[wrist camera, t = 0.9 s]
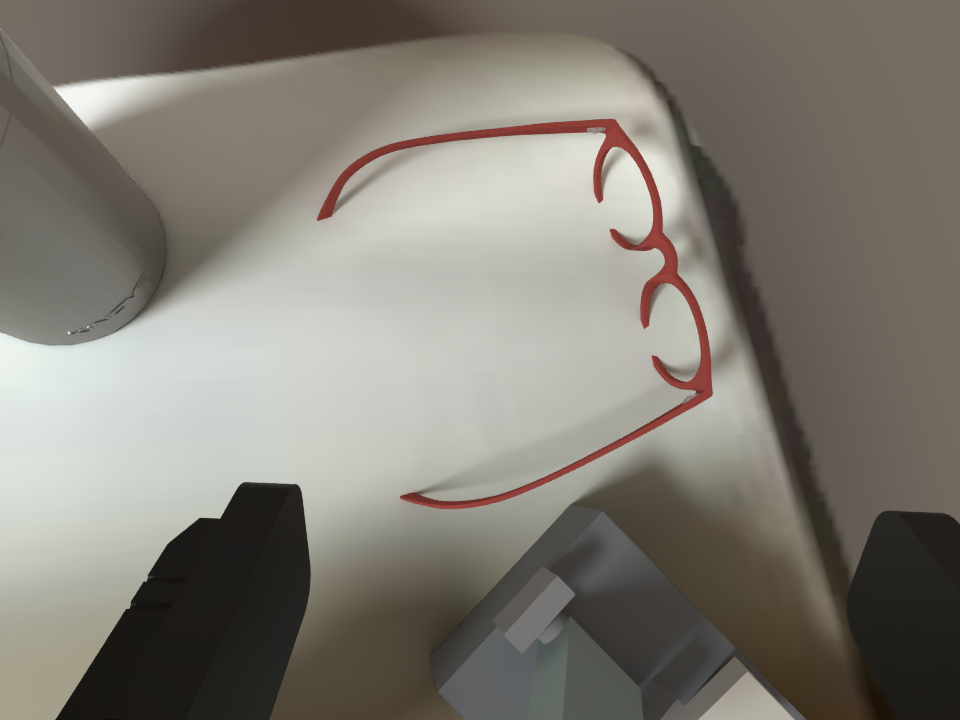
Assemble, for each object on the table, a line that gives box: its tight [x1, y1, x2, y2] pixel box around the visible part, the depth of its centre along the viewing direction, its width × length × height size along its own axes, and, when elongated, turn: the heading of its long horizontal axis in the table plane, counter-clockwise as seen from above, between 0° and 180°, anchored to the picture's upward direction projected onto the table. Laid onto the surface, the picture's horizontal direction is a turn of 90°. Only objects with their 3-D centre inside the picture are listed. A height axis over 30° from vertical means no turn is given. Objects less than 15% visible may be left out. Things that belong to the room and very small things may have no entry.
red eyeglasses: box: [317, 119, 713, 509], centre depth 33 cm, size 17×16×5 cm
